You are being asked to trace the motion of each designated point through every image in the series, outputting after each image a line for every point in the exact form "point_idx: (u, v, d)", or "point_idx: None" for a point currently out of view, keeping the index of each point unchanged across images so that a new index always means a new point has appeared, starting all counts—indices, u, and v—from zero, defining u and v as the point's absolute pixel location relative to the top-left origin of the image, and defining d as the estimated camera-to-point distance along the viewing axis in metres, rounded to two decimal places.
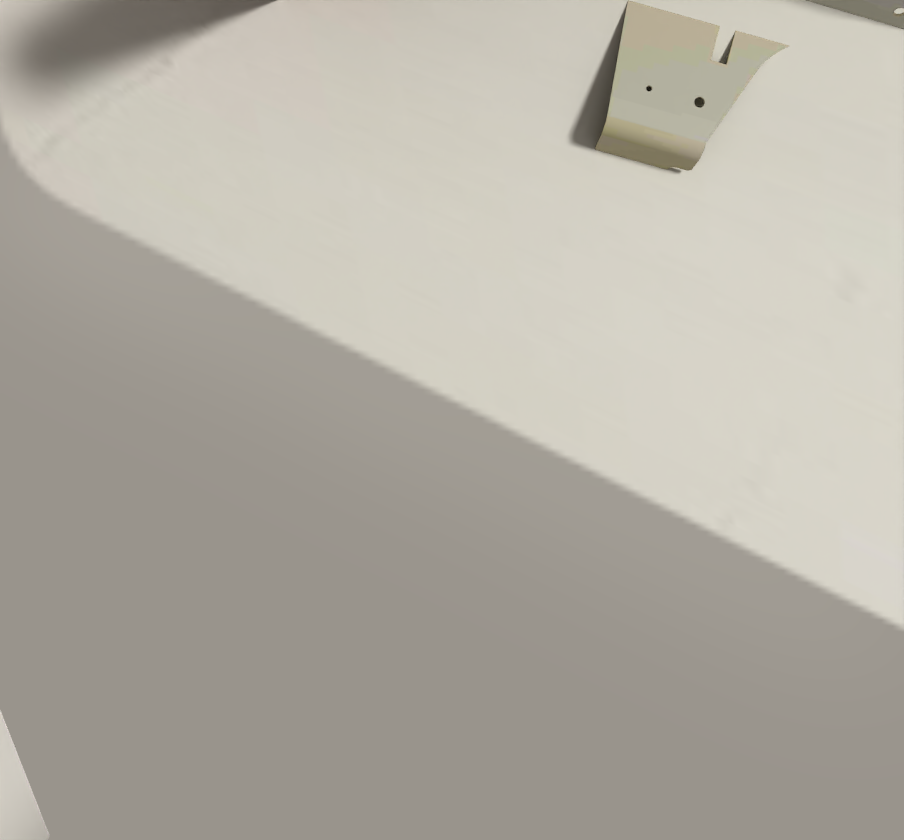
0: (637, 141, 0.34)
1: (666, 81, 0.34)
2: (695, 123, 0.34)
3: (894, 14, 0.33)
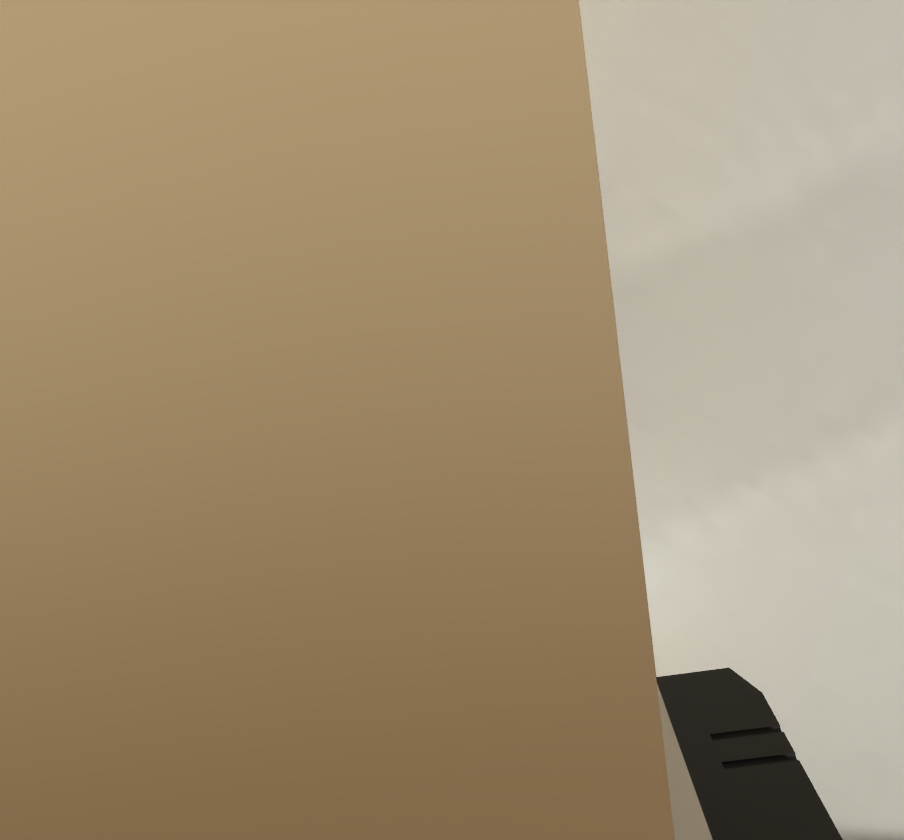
0: None
1: None
2: None
3: None
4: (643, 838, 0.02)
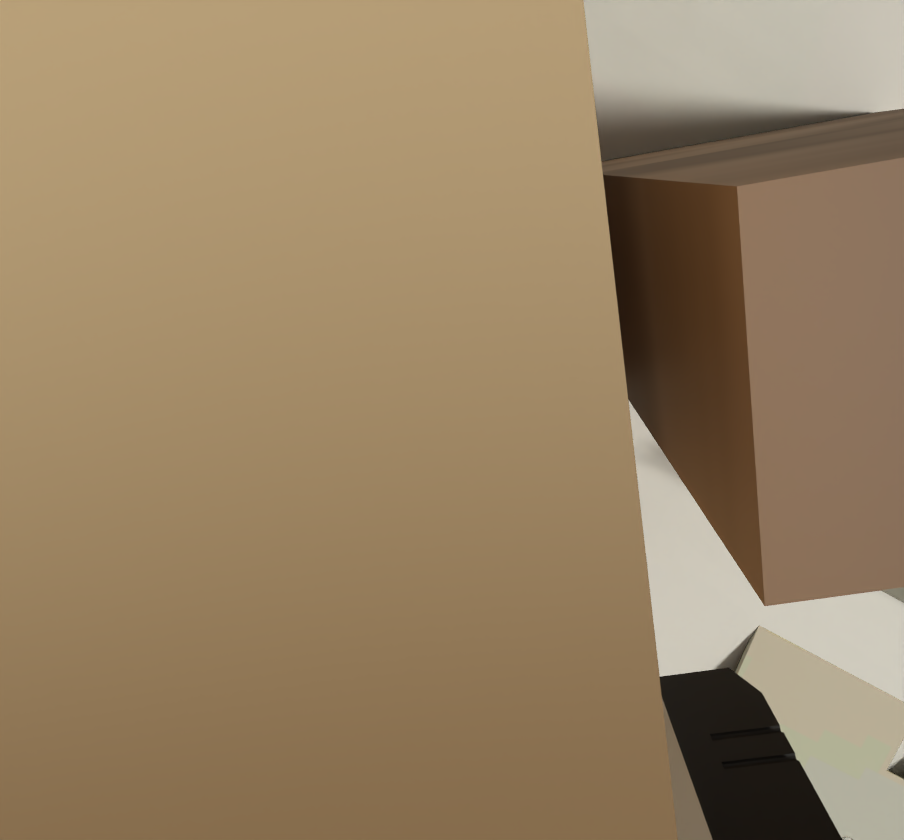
0: None
1: None
2: None
3: None
4: None
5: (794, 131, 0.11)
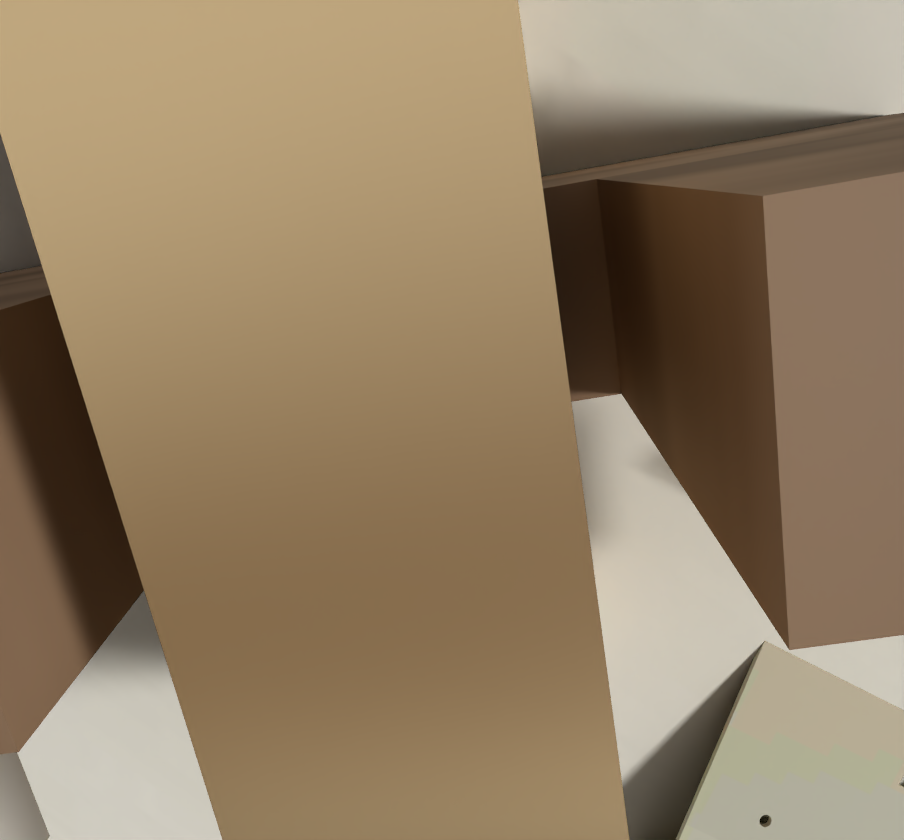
0: None
1: (801, 807, 0.16)
2: None
3: None
4: (574, 558, 0.04)
5: (805, 134, 0.11)
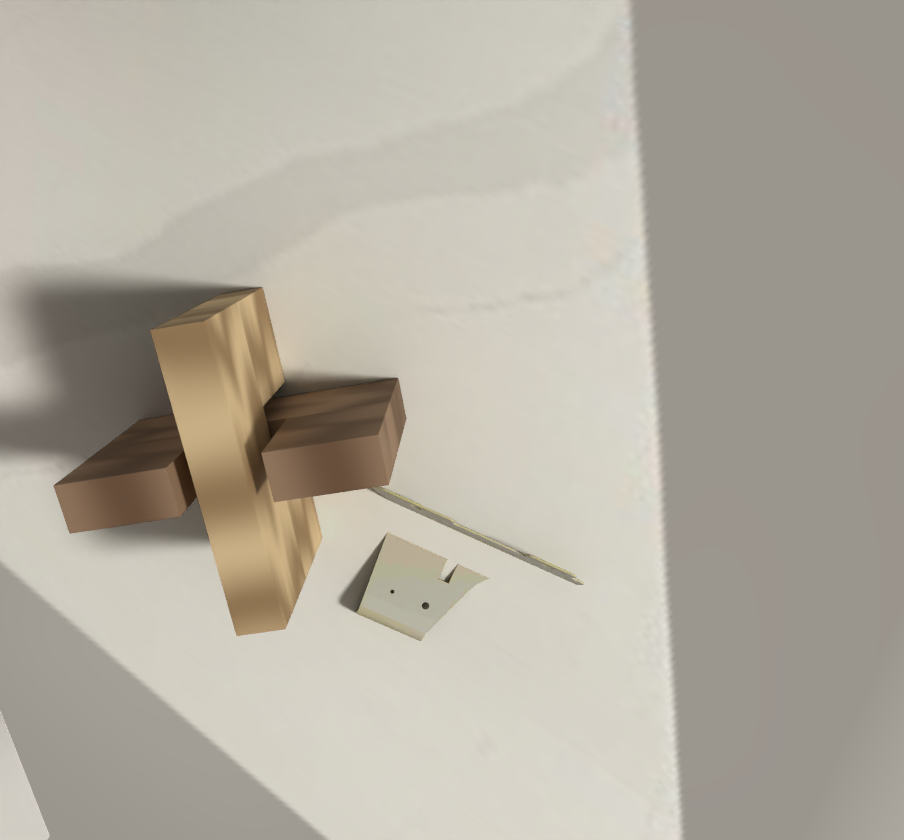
0: (379, 622, 0.49)
1: (405, 587, 0.49)
2: (420, 620, 0.49)
3: (562, 576, 0.48)
4: (246, 491, 0.37)
5: (352, 396, 0.43)
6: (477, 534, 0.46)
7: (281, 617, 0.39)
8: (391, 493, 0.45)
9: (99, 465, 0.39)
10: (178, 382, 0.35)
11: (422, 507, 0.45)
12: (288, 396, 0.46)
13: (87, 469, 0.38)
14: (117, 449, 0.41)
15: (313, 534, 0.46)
